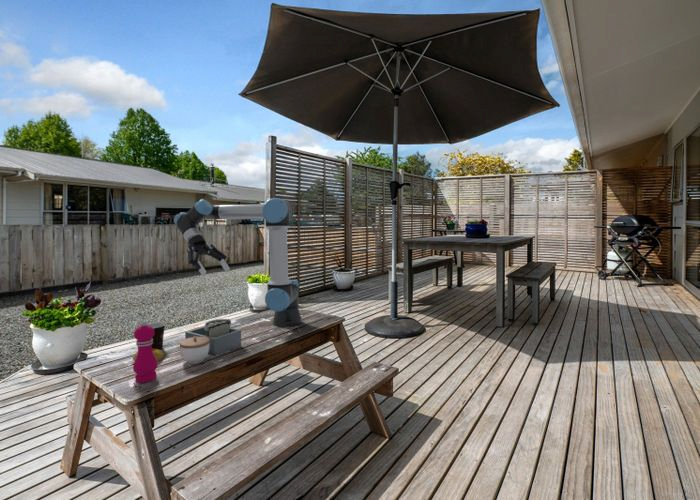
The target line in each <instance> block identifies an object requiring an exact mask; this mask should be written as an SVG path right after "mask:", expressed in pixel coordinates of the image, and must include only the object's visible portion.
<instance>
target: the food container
mask: <svg viewBox="0 0 700 500" xmlns="http://www.w3.org/2000/svg"><path fill="white" fill-rule="evenodd" d="M231 325H232V321H231V319H227V318H221V319H220V318H219V319H212V320H209V321H207V322H205V324H204V326H205V327H204V326H203V327H204V330H206V335H207V336H209V337H213V338H216V337H219V336H222V335H225V334H228V333H230V328H231Z"/></svg>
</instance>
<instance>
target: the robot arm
mask: <svg viewBox="0 0 700 500" xmlns="http://www.w3.org/2000/svg"><path fill="white" fill-rule="evenodd" d="M294 213H295V209H294V206H293V204H292V203H291V202H290V201H288V200H287V199H282V198H278V197H273V198H269V199H267V200H266V201H265V202H264V203H262V204H261V203H260V204H255V203H253V204H211V203H210V202H209V201H208V200H206V199H205V198H204V199H203V198H202V199H200V200H199V201H197V202H195V204H194V205H193V206H192V207H191V208H190V209H189V210H188V211H187V212H184V211H183V212H179V213H177V214H175V216H174V218H173V222H174V224H175V226H176V228H177V229H178V230H179V232H180V234H182V236H183V238H184V240H185V241H186V243H187V244H188V246H187V248H186V251H187V258H188V265H192V267H195V268H196V270H198V272H199V273H200V274H201V276H202V277H204V276H205V275H207V270H206V269H205V267H204V266H203V264H202V263H201V261H198V260H199V257H200V256H204V255H205V256H208V257H209V256H210V257H212V258H213V259H215V260H217V261H219V264H220V265H221V267H222V268H223V270H224V271H225V273H228V272H229V271H230V270H231V268H230V267H229V265H228V263H227V261H226V259H228V258H227V255H226V254H224V253H223V252H221V251H220V250H219V249H218V248H217V247H215V245H213V244H210V245H209V244H207V241H206V239H205V237H204V236H203V235H202V233H201V231H200V230H199V229H198V227H197V226H198V225H199V224H200V223H201V222H202V221H203V220H211V221H212V220H213V221H216V220H264V221H265V222H264V223H265V228H266V229H267V230H268V244H269V247H268V248H269V249H268V250H269V276H270V279H269V281H267V292H266V293H265V296H264V303H265V305H266V306H267V307H268V309H270V310H271V311H274V315H273V318H272V325H274V326H276V327H281V328H282V327H284V328H286V327H287V328H289V327H296V326H299V325H301V324H302V323H303V318H302V316H301V313H300V312H301V311H300V307H299V286H300V285H299V281H298V280H296V279H289V260H288V259H289V257H288V254H289V253H288V229H289V228H290V227H291V224H290V223H291V220H292V218H293V217H294V215H295V214H294ZM194 252H195V254H194Z"/></svg>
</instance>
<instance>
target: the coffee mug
mask: <svg viewBox="0 0 700 500" xmlns="http://www.w3.org/2000/svg"><path fill="white" fill-rule="evenodd" d="M147 325H148V326H151V327H152V328H153V329H154V336H153V337H152V339H153V344H152V348H153V349H158V350H161V351H162V349H163V347H164V344H163V343H164V334H165V325H166V324H165V323H164V322H151V323H147Z"/></svg>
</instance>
